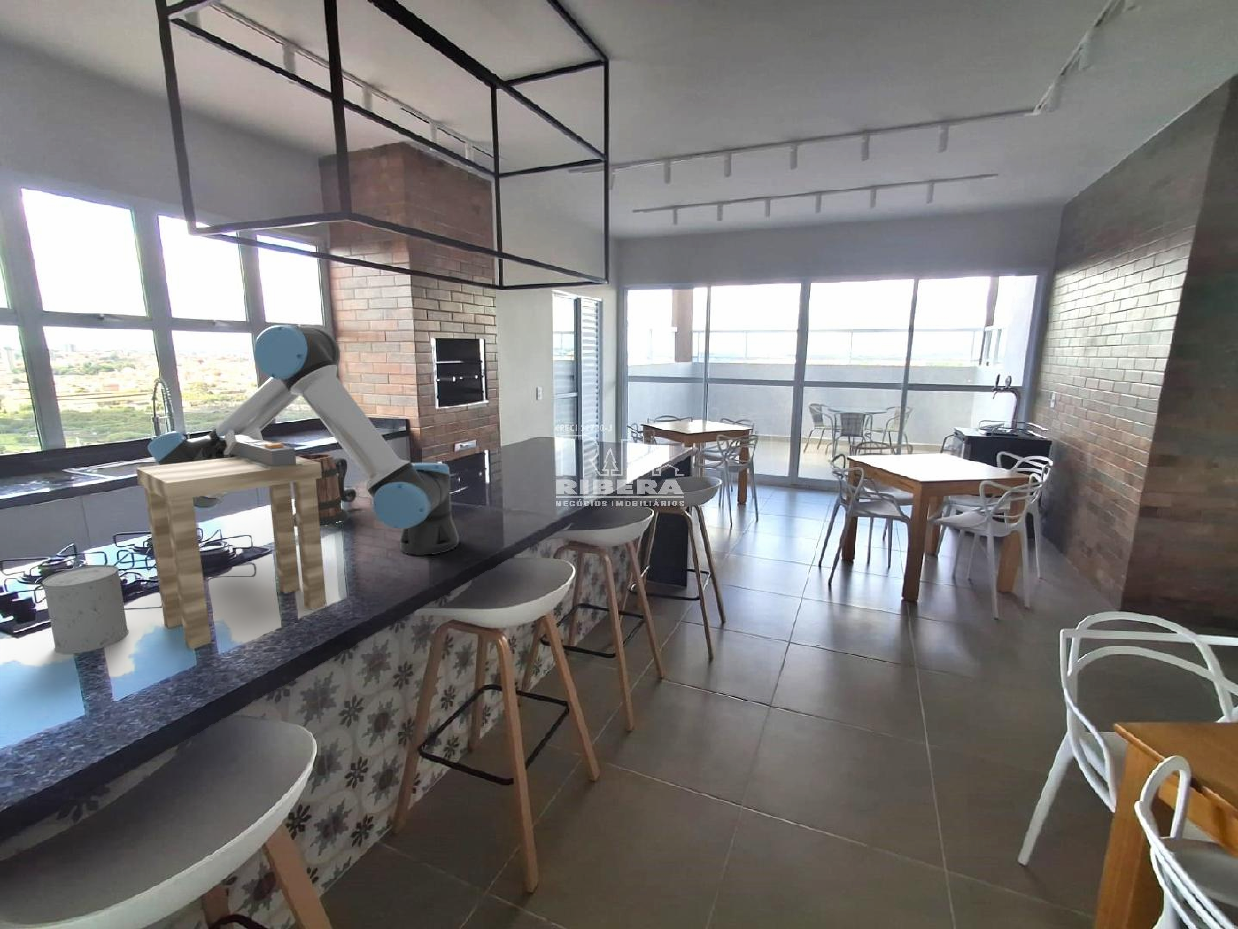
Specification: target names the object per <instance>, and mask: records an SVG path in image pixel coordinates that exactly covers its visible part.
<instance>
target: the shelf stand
mask: <svg viewBox="0 0 1238 929" xmlns="http://www.w3.org/2000/svg"><path fill="white" fill-rule="evenodd" d="M295 456H296V464H292V465H285V466H277V467H272V466H269V465H265V464H262V463H259V462H256V461H253V460H250V459H246V458H243V457H240V456H235V457H231V458H222V459H213V460H204V461H195V462H186V463H177V464H167V465H153V466H152V465H151V466H150V465H149V466H142V467H136V468H135V472H136V477H137V483H138V485H139V486H141V487H142V488H144V491H145V498H146V507H147V513H148V521H149V528H150V534H151V539H152V546H153V548H152V549H153V554H154V560H155V568H156V573H157V580H158V581H157V582H158V587H159V588H158V590H159V594H160V601H161V602H160V603H161V609H162V616H163V622H164V624H165V625H166V627H167V628H169V629H173V628H176V627H179V626H182V629H183V636H184V638H183V639H184V644H185V645H186V646H187V647H188V649H190V650H194V649H196V648H200V647H203V646H206V645H208V644H209V645H210V644H211V643H212V636H211V629H210V628H211V627H210V621H209V620H210V619H209V614H208V606H207V597H206V589H205V584H204V583H205V582H204V574H203V566H202V560H201V551H200V543H199V537H198V536H199V535H198V529H197V528H198V527H197V520H196V513H195V512H196V511H195V510H194V504H193V497H200V496H206V495H213V494H219V493H226V492H228V493H232V492H237V491H238V492H239V491H244V490H245V491H246V490H249V489H250V490H251V489H257V488H264V487H268V490H269V491H268V493H269V501H270V510H271V520H272V522H271V523H272V531H273V533H272V534H273V540H274V542H273V543H274V552H275V558H276V560H275V561H276V570H277V571H276V572H277V579H278V589H279V591H280V592H282V593H284V594H285V595H286V594H288V593H289V594H290V593H292V592H295V591H300V590H301V585H302V593H303V594H302V595H303V604H304V607H305V608H308V609H309V608H310V609H309V610H311V609H312V610H314V609H313V608H315V609H317V608H316V607H318V608H320V606H321V607H323V605H324V606H326V605H327V597H326V596H327V595H326V585H325V583H326V582H325V573H324V562H323V560H324V559H323V550H322V537H321V528H320V527H321V526H320V524H319V512H318V500H317V488H316V479H317V478H322V475H321V463H319V462H316V461H312V460H308V459H305V458H301V457H297V456H298V455H295ZM291 483H292V486H293V495H294V501H295V507H294V508H295V513H296V520H297V527H296V529H297V530H296V529H295V526H294V519H293V515H294V512H293V502H292V501H293V499H292V489H291V488H292V487H291ZM295 530H296V531H297V539H298V540H297V541H296V532H295ZM297 542H298V549H299V550H298V551H299V552H298V551H297ZM297 552H298V553H299V561H300V562H299V563H300V572H301V583H302V584H301V585H300V576H299V575H300V573H299V563H298V553H297ZM325 604H326V605H325Z"/></svg>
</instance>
